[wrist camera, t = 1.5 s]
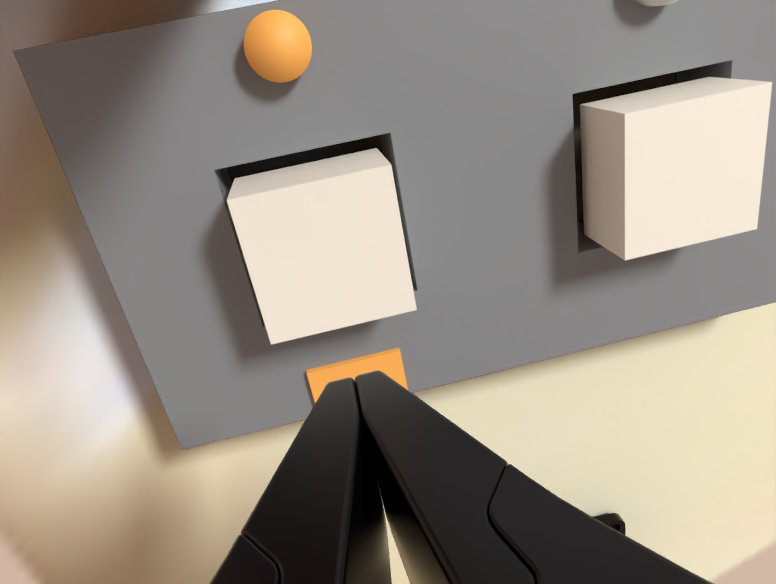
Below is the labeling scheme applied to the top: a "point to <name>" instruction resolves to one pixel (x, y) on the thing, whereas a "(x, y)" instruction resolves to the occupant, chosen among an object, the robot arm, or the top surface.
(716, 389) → the top surface
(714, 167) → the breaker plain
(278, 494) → the robot arm
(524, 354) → the breaker panel
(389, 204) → the cream square block
